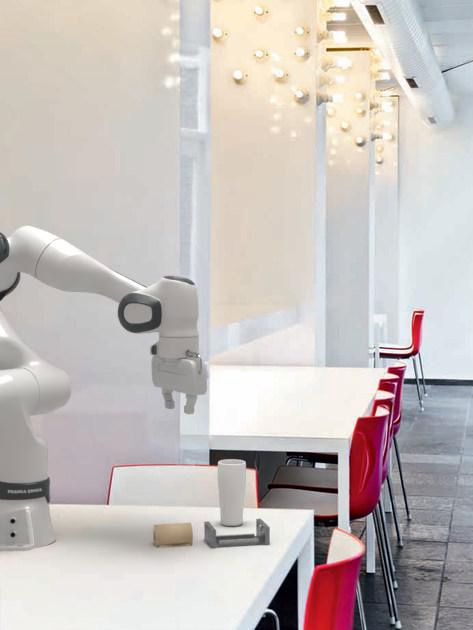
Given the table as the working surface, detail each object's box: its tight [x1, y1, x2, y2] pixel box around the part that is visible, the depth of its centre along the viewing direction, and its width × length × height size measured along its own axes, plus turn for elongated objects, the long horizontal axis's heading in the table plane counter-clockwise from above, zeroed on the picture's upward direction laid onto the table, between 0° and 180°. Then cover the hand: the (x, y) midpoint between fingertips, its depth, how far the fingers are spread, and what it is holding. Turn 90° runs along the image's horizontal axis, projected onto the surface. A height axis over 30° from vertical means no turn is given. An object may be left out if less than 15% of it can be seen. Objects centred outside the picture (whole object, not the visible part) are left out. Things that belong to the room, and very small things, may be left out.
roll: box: [152, 522, 194, 548], centre depth 245 cm, size 8×5×5 cm, turn 103°
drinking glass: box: [217, 459, 247, 527], centre depth 264 cm, size 7×7×15 cm
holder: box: [203, 518, 271, 549], centre depth 246 cm, size 13×8×4 cm, turn 103°
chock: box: [158, 544, 192, 548], centre depth 245 cm, size 7×5×1 cm
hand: (179, 411), depth 247 cm, fingers open, 8 cm apart
